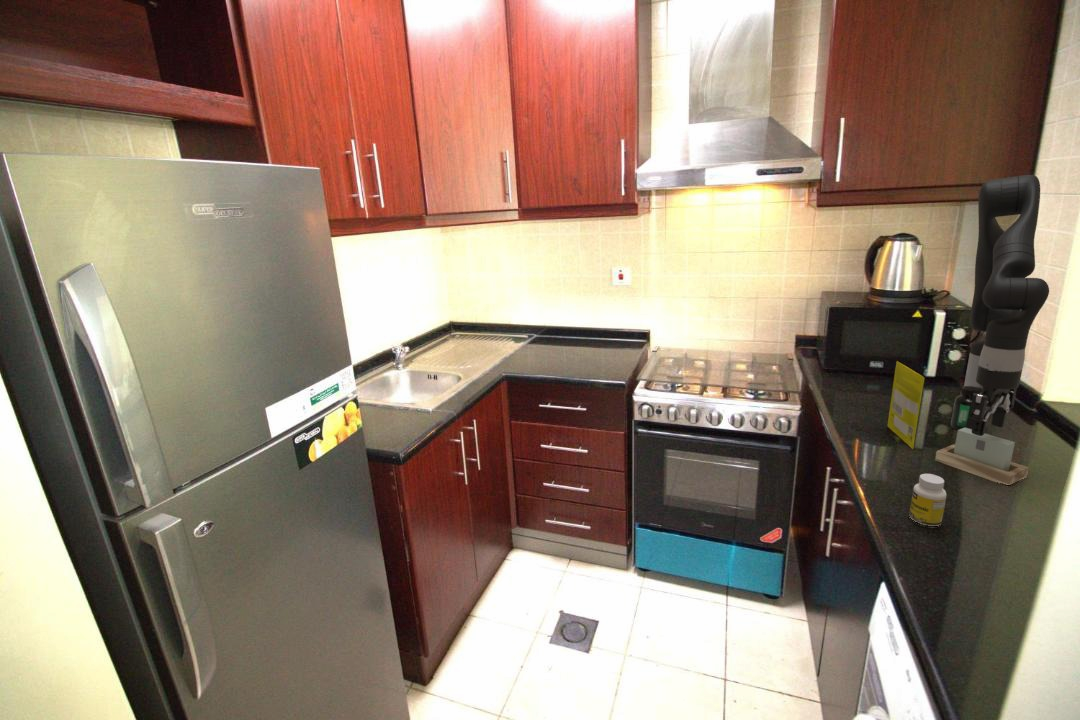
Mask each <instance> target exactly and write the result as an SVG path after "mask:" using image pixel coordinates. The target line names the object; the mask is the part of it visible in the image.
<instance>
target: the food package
mask: <svg viewBox="0 0 1080 720" xmlns="http://www.w3.org/2000/svg"><path fill="white" fill-rule="evenodd" d="M895 364H896V365H895V369H894V376H893V384H892V390H891V391H892V392H891V396H890V397H891V399H890V404H889V412H888V418H887V427H888V428H889V429H890V430H891V431H892V432H893V433H894V434H895V435H896V436H898V438H899V439H901V440H902V441H903V442H904V443H905V444H906V445H907V446H908V447H910V448H911V449H912V450H914V446H915V439H916V433H917V427H918V420H919V415H920V410H921V409H920V408H921V402H922V395H923V390H924V385H925V377H924V376H923V375H921V374H920V373H918V372H916V371H915V370H913V369H911V368H910V367H908V366H906V365H905V364H903V363H901V362H899V361H898V360H897V361H896V363H895Z"/></svg>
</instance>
